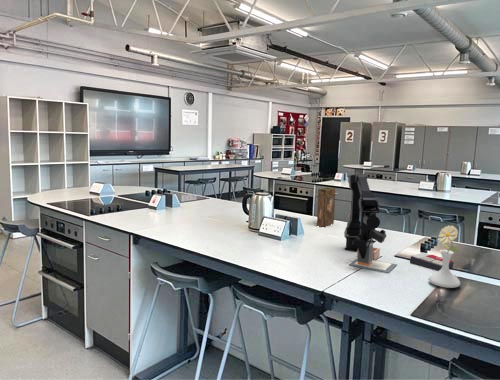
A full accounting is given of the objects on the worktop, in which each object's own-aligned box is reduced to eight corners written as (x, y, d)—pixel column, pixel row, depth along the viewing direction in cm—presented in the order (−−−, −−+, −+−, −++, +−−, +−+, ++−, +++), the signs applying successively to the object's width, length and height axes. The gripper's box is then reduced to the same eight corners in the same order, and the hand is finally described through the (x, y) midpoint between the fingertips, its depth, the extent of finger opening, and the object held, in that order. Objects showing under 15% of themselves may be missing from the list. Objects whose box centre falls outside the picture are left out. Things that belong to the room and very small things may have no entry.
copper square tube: (357, 257, 188) (357, 249, 187) (362, 253, 194) (363, 245, 194) (374, 260, 183) (374, 252, 182) (379, 256, 190) (379, 248, 189)
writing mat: (348, 265, 175) (348, 263, 175) (358, 257, 186) (359, 256, 186) (388, 273, 165) (388, 271, 165) (397, 265, 176) (397, 263, 176)
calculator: (442, 264, 167) (410, 254, 179) (440, 274, 168) (409, 263, 180) (454, 260, 174) (422, 251, 186) (452, 269, 174) (421, 259, 186)
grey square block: (357, 263, 175) (358, 242, 174) (361, 261, 179) (362, 240, 178) (368, 265, 172) (369, 244, 171) (371, 263, 176) (373, 242, 175)
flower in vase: (424, 279, 158) (428, 220, 155) (452, 280, 157) (457, 221, 154) (436, 291, 145) (441, 227, 142) (467, 293, 144) (473, 228, 141)
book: (323, 227, 251) (325, 190, 248) (316, 226, 254) (317, 189, 251) (333, 223, 264) (335, 188, 261) (326, 222, 267) (327, 187, 264)
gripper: (378, 230, 161) (376, 265, 163) (390, 223, 176) (388, 255, 178) (353, 226, 167) (351, 260, 169) (366, 219, 182) (365, 251, 184)
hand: (365, 257), depth 175 cm, fingers closed on grey square block, 5 cm apart
